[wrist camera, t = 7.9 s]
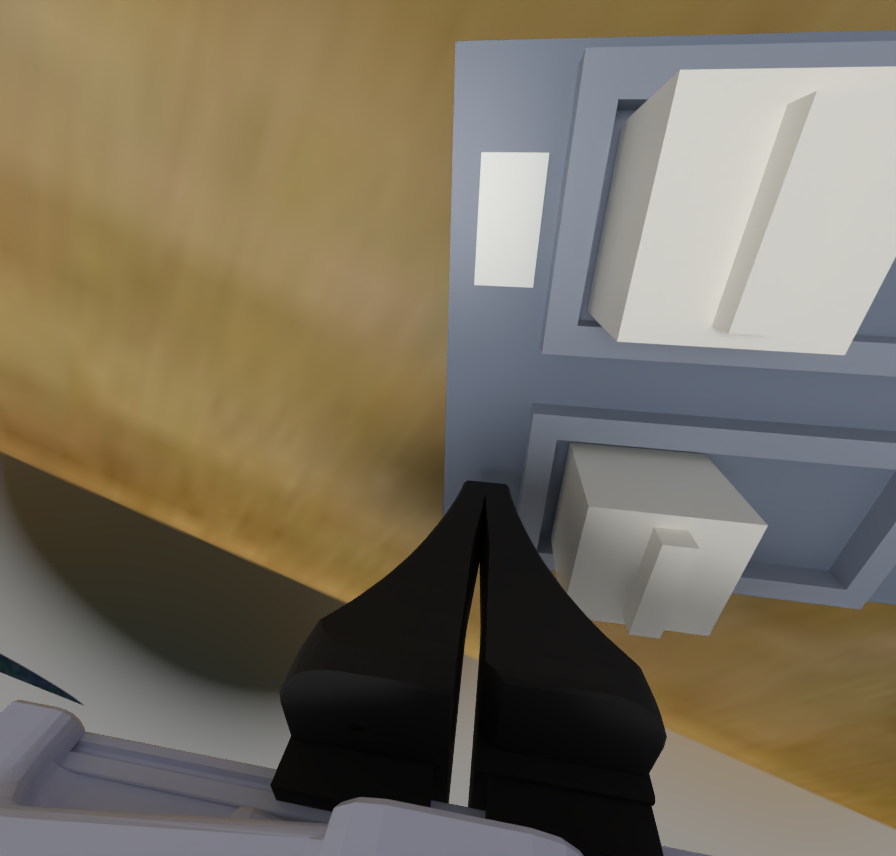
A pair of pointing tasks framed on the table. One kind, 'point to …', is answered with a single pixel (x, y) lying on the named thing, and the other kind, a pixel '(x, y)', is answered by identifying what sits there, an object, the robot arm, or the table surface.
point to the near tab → (751, 210)
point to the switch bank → (640, 364)
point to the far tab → (650, 538)
